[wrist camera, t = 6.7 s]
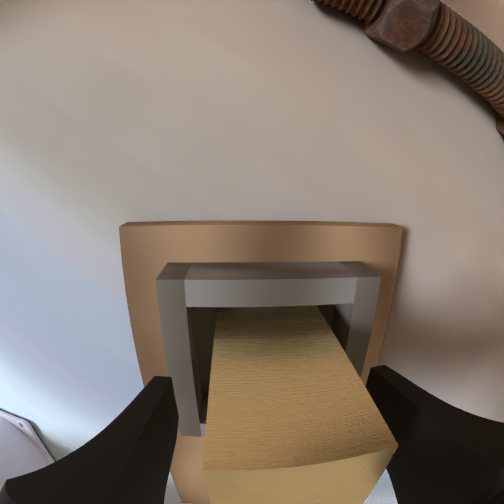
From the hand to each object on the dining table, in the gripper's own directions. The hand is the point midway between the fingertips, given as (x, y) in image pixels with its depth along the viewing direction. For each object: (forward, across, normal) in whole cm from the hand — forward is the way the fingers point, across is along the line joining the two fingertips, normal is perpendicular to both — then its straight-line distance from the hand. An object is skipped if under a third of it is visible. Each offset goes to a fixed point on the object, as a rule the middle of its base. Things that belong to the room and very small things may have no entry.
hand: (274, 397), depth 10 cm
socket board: (+4, 0, +6) cm, 7 cm away
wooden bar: (+3, 0, 0) cm, 3 cm away
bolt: (+5, -9, -15) cm, 18 cm away
